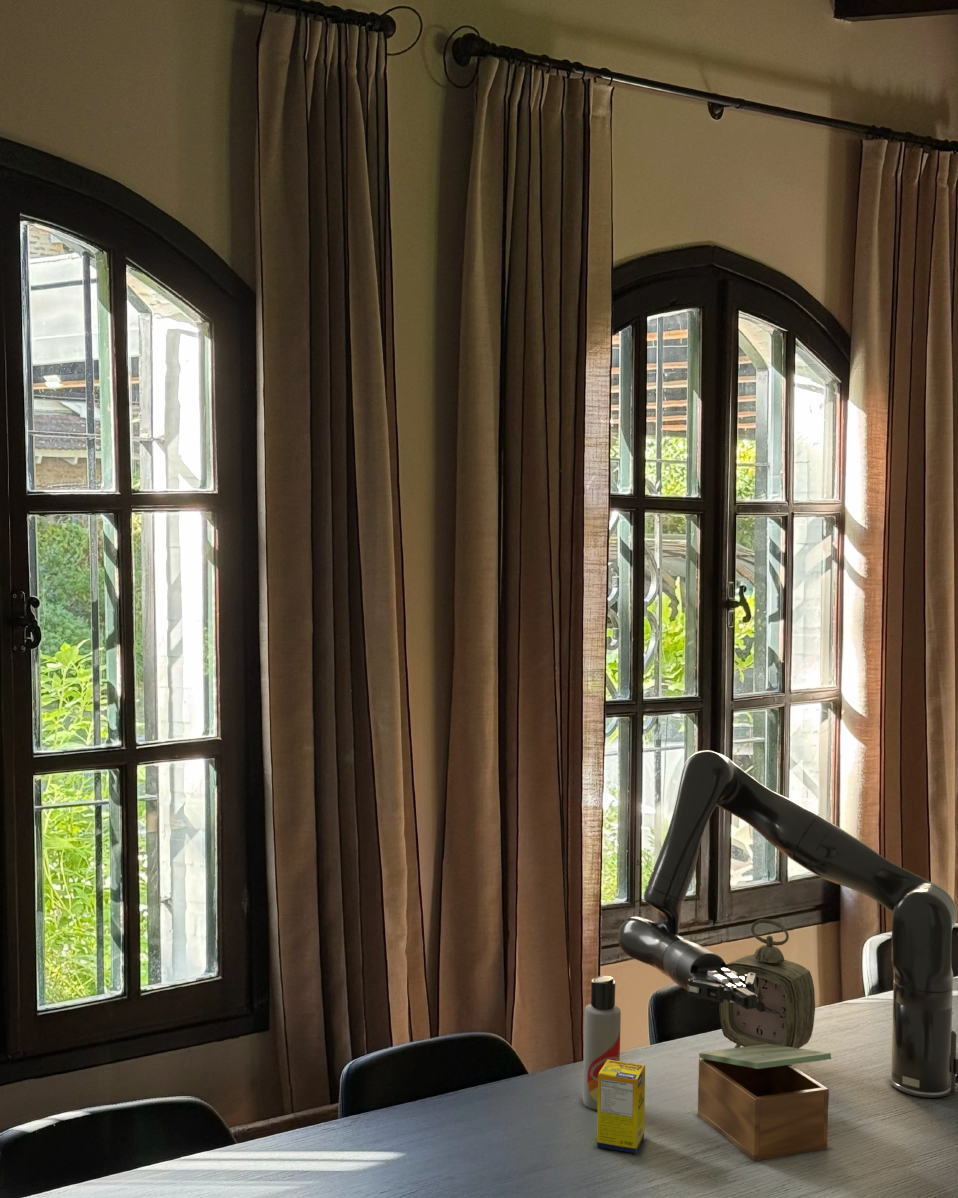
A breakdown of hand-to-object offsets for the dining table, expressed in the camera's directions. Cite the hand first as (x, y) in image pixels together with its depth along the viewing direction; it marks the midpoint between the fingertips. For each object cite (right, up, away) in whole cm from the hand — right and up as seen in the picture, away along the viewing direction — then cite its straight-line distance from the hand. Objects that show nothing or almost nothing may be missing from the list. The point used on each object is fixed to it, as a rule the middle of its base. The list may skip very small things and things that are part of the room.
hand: (752, 1002), depth 181 cm
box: (+1, -19, -3) cm, 19 cm away
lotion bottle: (-23, -18, +6) cm, 30 cm away
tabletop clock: (+8, -19, +23) cm, 31 cm away
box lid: (+1, -7, -3) cm, 8 cm away
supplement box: (-21, -18, -7) cm, 29 cm away
